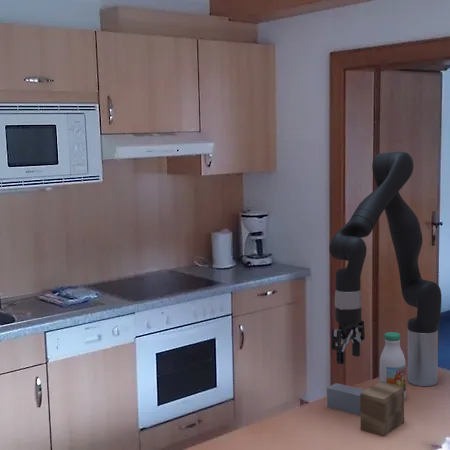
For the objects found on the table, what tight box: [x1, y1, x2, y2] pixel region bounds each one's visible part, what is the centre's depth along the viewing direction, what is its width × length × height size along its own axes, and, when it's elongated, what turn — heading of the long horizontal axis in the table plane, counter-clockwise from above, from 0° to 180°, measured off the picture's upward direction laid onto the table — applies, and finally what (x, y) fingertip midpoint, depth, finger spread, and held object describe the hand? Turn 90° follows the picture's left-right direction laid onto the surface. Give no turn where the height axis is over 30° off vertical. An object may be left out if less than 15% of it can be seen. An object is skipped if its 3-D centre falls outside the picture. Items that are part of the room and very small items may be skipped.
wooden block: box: [359, 381, 405, 437], centre depth 186 cm, size 11×7×10 cm, turn 138°
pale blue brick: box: [326, 382, 366, 416], centre depth 199 cm, size 5×12×6 cm, turn 49°
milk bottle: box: [379, 331, 407, 401], centre depth 205 cm, size 8×8×20 cm
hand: (348, 359), depth 198 cm, fingers open, 8 cm apart
